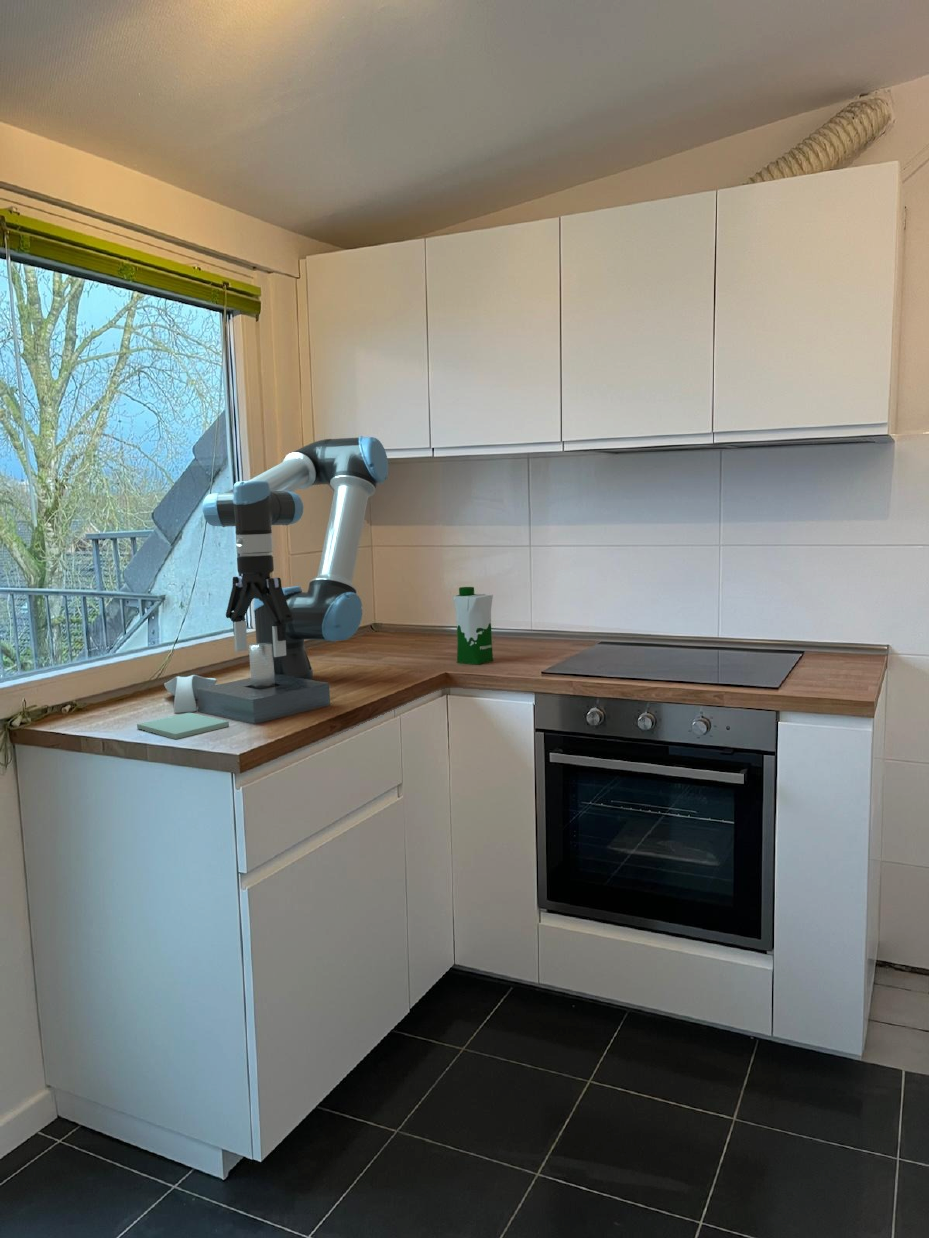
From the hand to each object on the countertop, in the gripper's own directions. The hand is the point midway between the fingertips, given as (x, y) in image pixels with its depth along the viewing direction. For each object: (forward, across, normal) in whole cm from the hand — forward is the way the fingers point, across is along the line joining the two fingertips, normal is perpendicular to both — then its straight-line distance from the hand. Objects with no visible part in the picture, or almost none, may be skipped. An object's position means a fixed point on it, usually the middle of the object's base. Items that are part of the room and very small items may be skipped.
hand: (260, 653), depth 198 cm
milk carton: (+11, +3, +68) cm, 69 cm away
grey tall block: (+12, 0, 0) cm, 12 cm away
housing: (+12, 0, 0) cm, 12 cm away
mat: (+12, 0, -20) cm, 23 cm away
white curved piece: (+13, -21, -5) cm, 25 cm away
